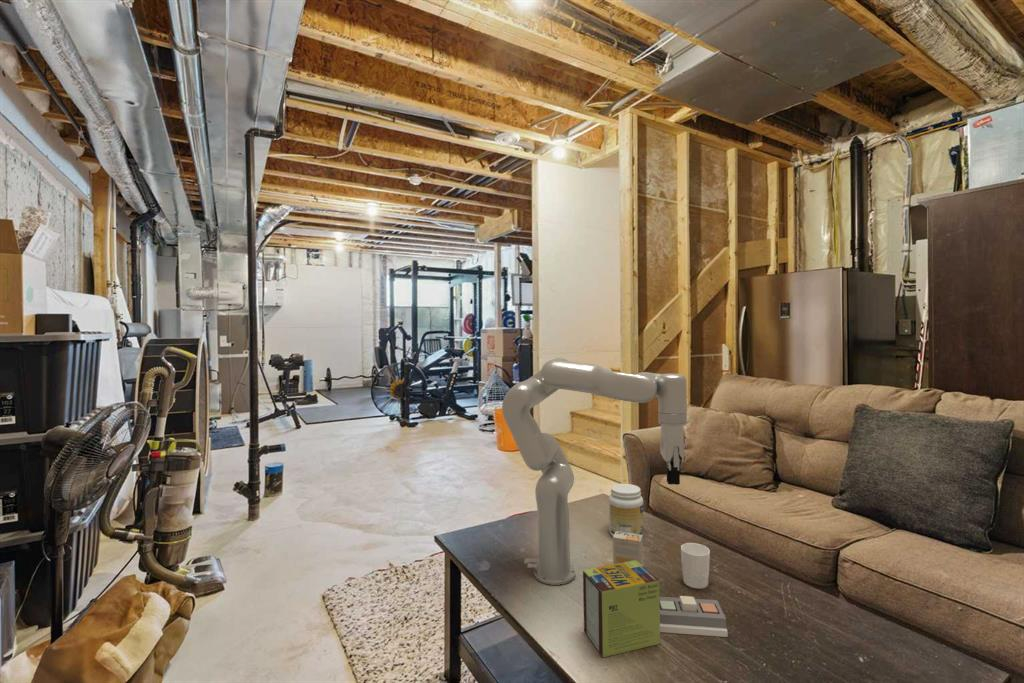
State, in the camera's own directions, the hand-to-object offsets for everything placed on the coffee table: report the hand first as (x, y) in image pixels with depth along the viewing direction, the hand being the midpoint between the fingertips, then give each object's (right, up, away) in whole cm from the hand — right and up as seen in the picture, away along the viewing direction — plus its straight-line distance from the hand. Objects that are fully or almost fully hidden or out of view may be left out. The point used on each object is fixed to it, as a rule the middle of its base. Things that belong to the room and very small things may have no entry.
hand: (673, 483), depth 132 cm
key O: (-5, -30, -11) cm, 32 cm away
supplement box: (-10, -31, +9) cm, 34 cm away
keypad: (0, -32, -12) cm, 34 cm away
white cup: (+9, -31, +6) cm, 33 cm away
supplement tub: (-4, -30, +38) cm, 49 cm away
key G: (+5, -30, -13) cm, 33 cm away
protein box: (-19, -32, -17) cm, 41 cm away
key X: (0, -28, -12) cm, 31 cm away
